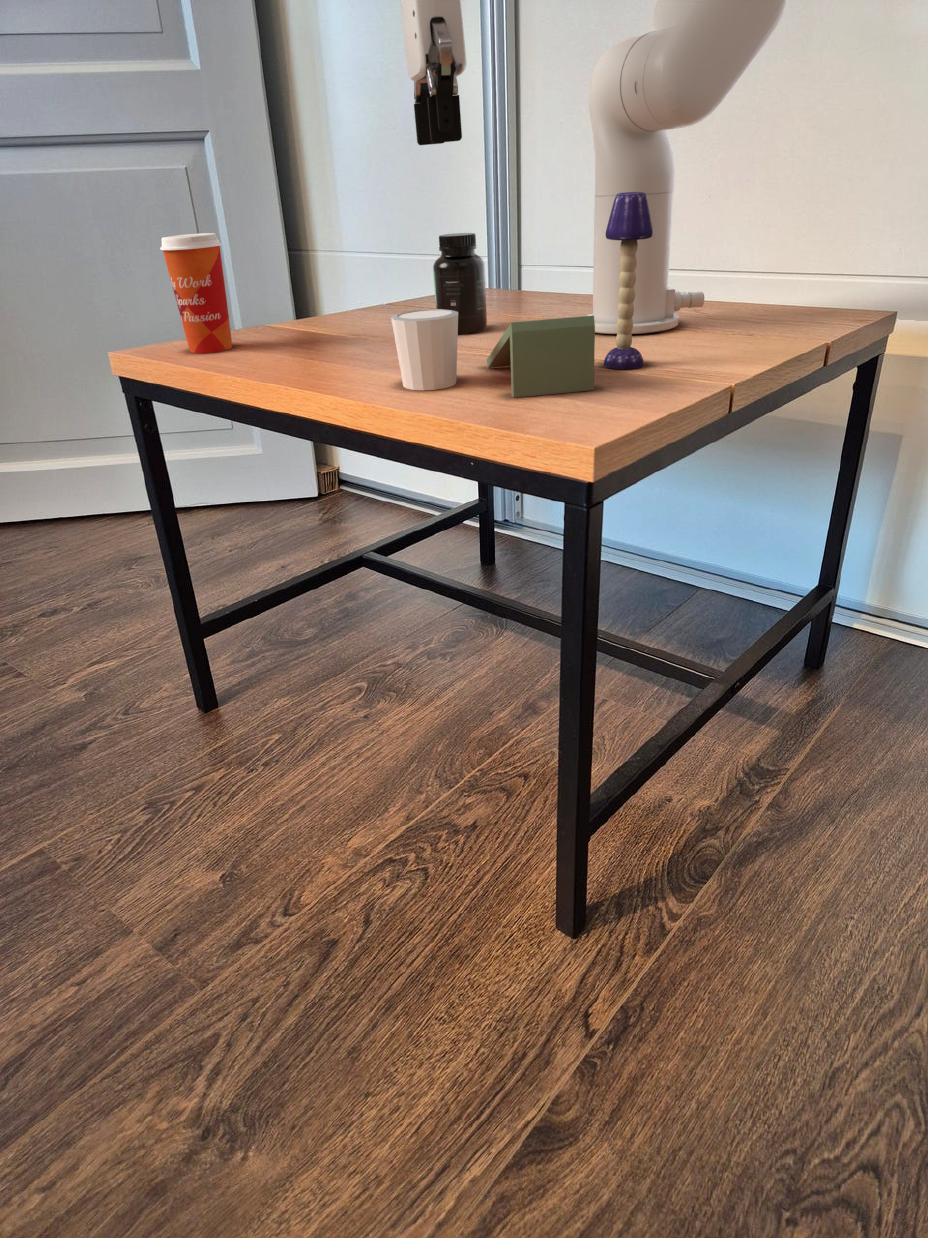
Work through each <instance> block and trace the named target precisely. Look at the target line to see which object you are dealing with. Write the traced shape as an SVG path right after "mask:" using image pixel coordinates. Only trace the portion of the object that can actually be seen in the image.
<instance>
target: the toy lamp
mask: <svg viewBox="0 0 928 1238" xmlns="http://www.w3.org/2000/svg"><path fill="white" fill-rule="evenodd" d="M652 234H653V230H652V223H651V218H650V212H649V206H648V201H647V196H646V194H645V193H644V192H624V193H618V194H617V195H616V197H615V199H614V203H613V207H612V210H611V214H610V218H609V221H608V225H607V229H606V238H607V239H610V240H622V241H621V245H620V250H621V254H622V256H621V259H620V269H621V273H620V276H619V283H620V286H621V287H620V289H619V294H618V298H619V302H620V303H619V305H618V309H617V314H618V317H619V319H618V321H617V332H618V334H616V338H615V346H616V347H614V348H612V349H610V350H609V351H608V352H607V353H606V356H605V357H604V361H603V366H604V367H605V368H607V369H612V370H634V369H639V368H641V367H643V366H644V357H643V355H642V353H641V352H640V351H639V350H638V349H637V348H635V347H632V343H633V334H631V332H632V329H633V319H632V317H633V314H634V304H633V301H634V299H635V288H634V285H635V282H636V273H635V269H636V266H637V258H636V255H635V254H636V252H637V248H638V242H637V240H640V239H648V238H650V237H652Z"/></svg>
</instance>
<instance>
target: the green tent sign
mask: <svg viewBox="0 0 928 1238" xmlns="http://www.w3.org/2000/svg"><path fill="white" fill-rule="evenodd" d="M595 343H596V333H595V322H594V316H593V315H592V316H587V315H582V316H570V317H559V318H558V317H557V318H547V319H534V320H524V321H523V320H522V321H512V322H511V321H510V323H509V324H508V325H507V328H506V329H505V331H504V333H503V334H502V335H501V337H500V339H499V340H498V342H496V345H495V346H494V347H493V349H492V350H491V352H490V354H489V355H488V357H487V358H486V365H487V369H493V368H503V367H504V368H505V367H510V389H511V397H513V398H514V399H516V398H525V397H537V396H547V395H556V394H566V393H567V394H568V393H576V392H577V393H579V392H588V391H589V392H590V391H595V351H596V348H595V347H596V344H595Z"/></svg>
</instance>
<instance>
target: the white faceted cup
mask: <svg viewBox="0 0 928 1238" xmlns="http://www.w3.org/2000/svg"><path fill="white" fill-rule="evenodd" d="M390 320H391V326H392V331H393V336H394V342H395V347H396V351H397V352H396V355H397V358H398V364H399V370H400V375H401V380H402V386H403V388H405V389H407V390H412V391H435V390H442V389H443V390H444V389H447V388H450V387H453V386H455V385H456V384H457V377H458V376H457V373H458V372H457V371H458V368H457V367H458V337H459V336H458V335H459V334H458V312H456V311H453V310H443V309H436V308H431V309H430V308H429V309H427V308H425V309H416V310H408V311H404V312H400V313H396V314H394V315H391V318H390Z"/></svg>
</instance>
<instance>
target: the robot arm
mask: <svg viewBox="0 0 928 1238" xmlns="http://www.w3.org/2000/svg"><path fill="white" fill-rule="evenodd" d="M787 4H788V0H655V3H654V8H653V16H652V24H653V29H654V30H653V31H649V32H644V33H641V34H637V35H633V36H629V37H627V38H624V39H622V40H620V41H618V42H616V43H614V44H613V45H611V46H610V47H609V48H608V49H607V50H606V51H605V52H604V53H602V55H601V56H600V57H599V59H598V60H597V61H596V64H595V66H594V67H593V70H592V73H591V76H590V78H589V79H590V80H589V86H588V110H589V115H590V122H591V123H590V124H591V129H592V136H593V137H592V138H593V146H594V147H593V149H594V166H595V167H594V179H595V180H594V216H593V217H594V218H593V222H594V224H593V275H592V276H593V277H592V278H593V279H592V313H590V314H587V315H586V316H592V315H593V316H594V322H595V334H606V335H617V334H618V332H617V321H618V319H619V317H618V314H617V309H618V305H619V303H620V302H619V298H618V294H619V289H620V287H621V286H620V283H619V276H620V273H621V269H620V259H621V256H622V254H621V250H620V245H621V241H622V240H610V239H607V238H606V229H607V225H608V221H609V218H610V214H611V210H612V207H613V203H614V199H615V197H616V195H617V194H618V193H624V192H644V193H645V194H646V196H647V201H648V206H649V212H650V218H651V223H652V230H653V234H652V237H650V238H648V239H640V240H637V242H638V248H637V252H636V254H635V255H636V258H637V266H636V269H635V273H636V282H635V285H634V288H635V299H634V301H633V304H634V314H633V317H632V319H633V329H632V332H631V335H638V334H639V335H640V334H653V333H658V332H663V331H668V330H671V329H674V328H676V327H677V326H678V325H679V315H678V314H676V312H679V311H681V309H684V308H688V309H691V308H692V309H693V308H702V307H703V306H704V304H705V293H704V291H702V290H701V291H700V290H699V291H689V292H686V291H682V292H680V291H679V290H676V288H674V287H670V286H669V278H670V263H671V261H670V259H671V242H672V241H671V240H672V225H673V208H674V192H675V180H676V179H675V177H676V176H675V175H676V174H675V158H674V152H673V147H672V145H671V141H670V137H669V134H668V130H675V129H676V130H677V129H684V128H689V127H692V126H695V125H698V124H700V123H701V122H703V121H704V120H706V119H707V118H709V117H710V116H711V115H712V114H713V113H714V112H715V111H716V110H717V109H718V108H719V107H720V106H721V104H722V103H723V102H724V100H726V98H727V97H728V95H729V94H730V93H731V91H732V90H733V89H734V88H735V86H736V85H737V83H738V82H739V81H740V80H741V78H742V77H743V76H744V74H745V72H746V71H747V70H748V69H749V68H750V66H751V64H752V63H753V62H754V61H755V59H756V58H757V56H758V55H759V54H760V53H761V51H762V50H763V48H764V47H765V46H766V44H767V42H768V41H769V40H770V39H771V37H772V35H773V34H774V32H775V31H776V29H777V28H778V26H779V24H780V22H781V20H782V17H783V15H784V13H785V9H786V7H787ZM400 9H401V10H400V11H401V21H402V22H401V23H402V32H403V43H404V51H405V60H406V68H407V74H408V77H409V79H410V80H411V81H412V82H413V100H414V104H413V109H414V110H413V111H414V123H415V133H416V142H417V145H419V146H429V145H440V144H441V145H442V144H445V143H451V142H460V141H461V140H462V138H463V132H462V131H463V130H462V115H461V102H460V101H461V100H460V94H459V84H458V79H457V77H458V76H460V75H462V74H463V73H464V72H465V71H466V68H467V52H466V42H465V31H464V22H463V11H462V1H461V0H400Z"/></svg>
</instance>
